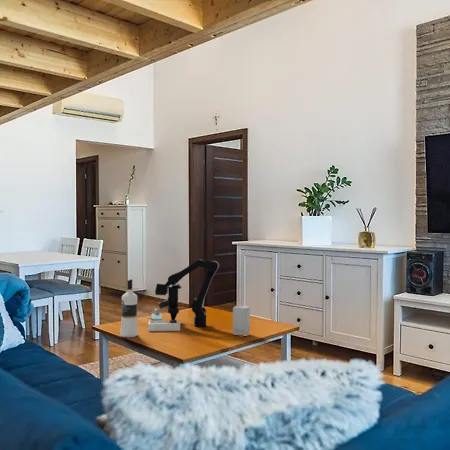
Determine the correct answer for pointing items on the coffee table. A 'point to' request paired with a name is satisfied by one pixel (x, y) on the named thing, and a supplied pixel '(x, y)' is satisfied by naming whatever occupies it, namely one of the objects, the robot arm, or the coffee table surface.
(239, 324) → the skincare box
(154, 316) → the cover
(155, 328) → the channel
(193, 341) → the coffee table surface
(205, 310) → the robot arm
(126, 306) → the vodka
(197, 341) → the coffee table surface
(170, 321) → the block
